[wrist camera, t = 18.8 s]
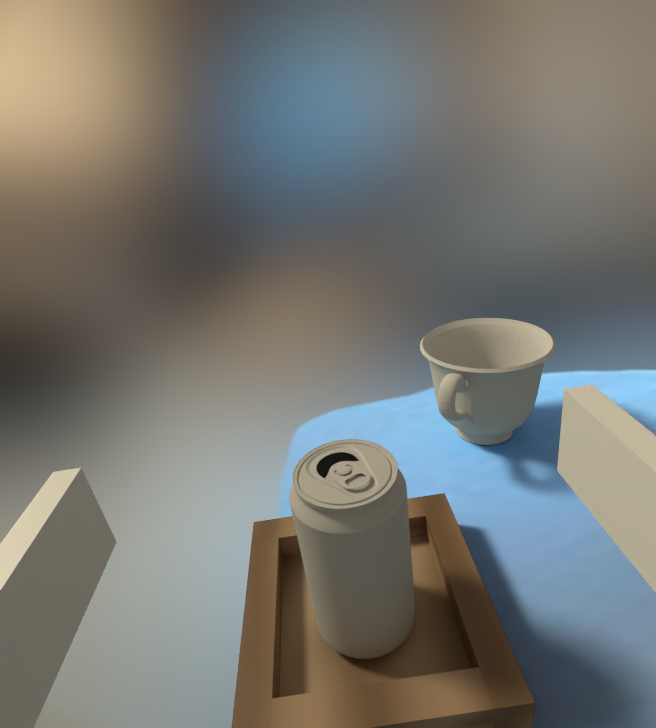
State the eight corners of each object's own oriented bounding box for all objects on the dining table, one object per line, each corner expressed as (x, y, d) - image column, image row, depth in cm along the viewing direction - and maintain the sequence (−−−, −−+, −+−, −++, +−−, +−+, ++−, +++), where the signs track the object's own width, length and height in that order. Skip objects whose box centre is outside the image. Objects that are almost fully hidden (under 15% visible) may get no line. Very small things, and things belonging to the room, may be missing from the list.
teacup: (388, 460, 45) (380, 369, 41) (452, 390, 55) (451, 312, 51) (514, 502, 38) (520, 398, 34) (562, 414, 48) (571, 325, 44)
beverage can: (375, 559, 34) (358, 421, 29) (438, 625, 29) (430, 472, 23) (299, 607, 31) (265, 464, 26) (353, 691, 26) (324, 533, 21)
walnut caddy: (445, 522, 37) (444, 493, 36) (531, 736, 24) (534, 702, 22) (261, 549, 37) (253, 522, 36) (242, 780, 24) (229, 749, 22)
